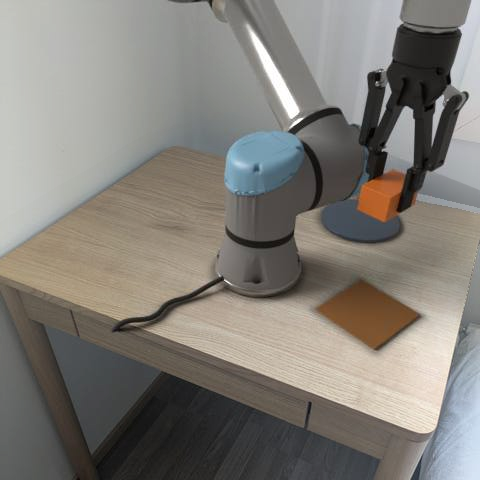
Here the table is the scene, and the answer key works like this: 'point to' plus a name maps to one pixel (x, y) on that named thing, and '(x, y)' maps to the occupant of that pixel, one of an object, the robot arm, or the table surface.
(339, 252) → the table surface
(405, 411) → the table surface
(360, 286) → the cork mat
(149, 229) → the table surface
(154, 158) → the table surface
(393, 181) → the orange rectangular block
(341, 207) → the plate
